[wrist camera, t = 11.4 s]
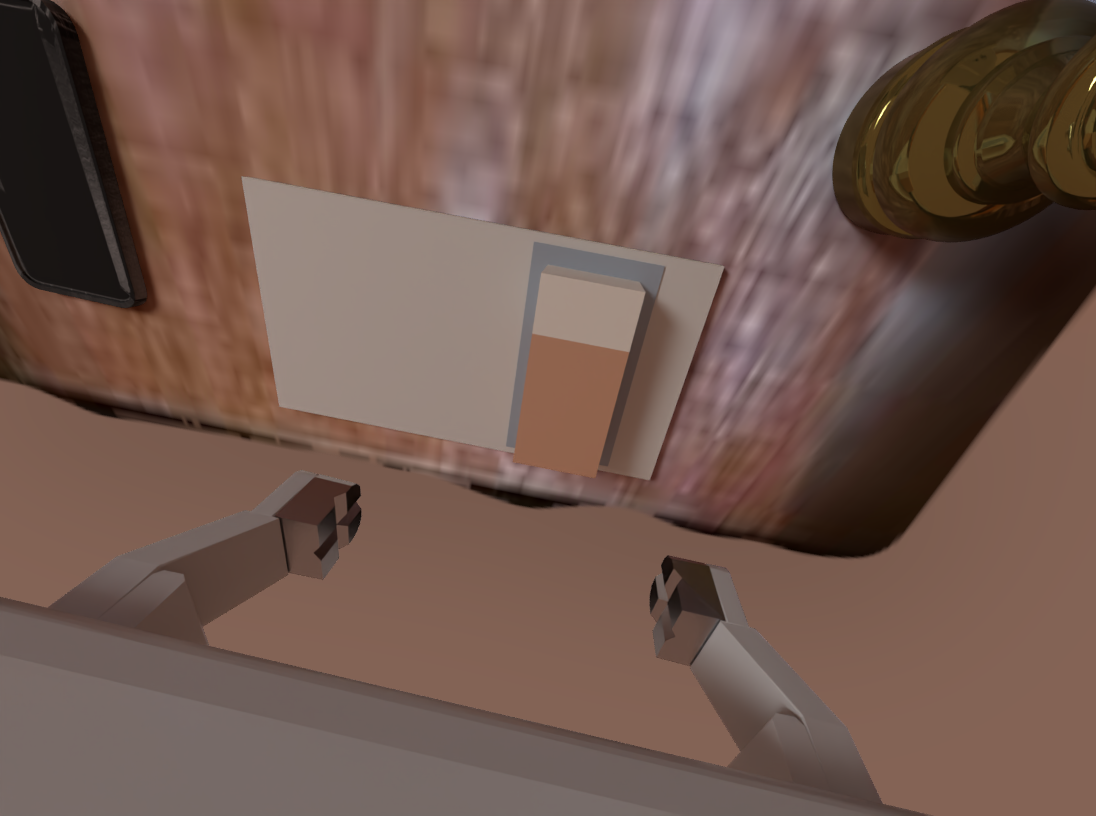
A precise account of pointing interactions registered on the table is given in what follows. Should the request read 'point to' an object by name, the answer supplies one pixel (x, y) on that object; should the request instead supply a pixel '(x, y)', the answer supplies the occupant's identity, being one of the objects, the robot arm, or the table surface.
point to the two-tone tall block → (575, 368)
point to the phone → (59, 165)
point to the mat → (451, 318)
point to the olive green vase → (977, 128)
